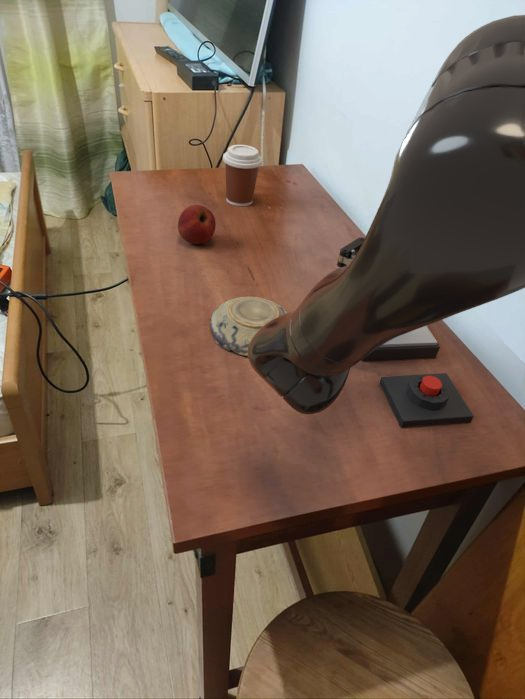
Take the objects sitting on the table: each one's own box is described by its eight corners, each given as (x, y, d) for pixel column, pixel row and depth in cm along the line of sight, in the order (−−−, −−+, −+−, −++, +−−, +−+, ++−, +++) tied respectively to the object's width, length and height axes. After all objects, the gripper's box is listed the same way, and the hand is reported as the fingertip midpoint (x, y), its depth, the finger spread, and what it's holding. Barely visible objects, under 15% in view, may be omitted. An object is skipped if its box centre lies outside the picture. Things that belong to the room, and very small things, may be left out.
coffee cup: (225, 189, 126) (228, 140, 119) (261, 196, 126) (266, 147, 118) (216, 204, 119) (218, 153, 112) (253, 211, 119) (259, 160, 111)
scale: (405, 311, 94) (410, 297, 92) (435, 358, 85) (441, 344, 83) (339, 312, 91) (342, 299, 90) (362, 361, 82) (366, 347, 80)
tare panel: (443, 379, 81) (450, 365, 79) (470, 422, 74) (478, 408, 72) (378, 382, 78) (383, 368, 76) (400, 427, 72) (406, 413, 70)
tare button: (433, 382, 76) (437, 375, 75) (441, 396, 74) (445, 388, 73) (416, 383, 75) (419, 376, 74) (424, 397, 73) (427, 389, 72)
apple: (184, 253, 101) (184, 216, 96) (173, 234, 107) (172, 198, 101) (219, 248, 104) (221, 212, 99) (206, 230, 109) (207, 195, 104)
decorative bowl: (241, 292, 93) (188, 329, 83) (243, 274, 91) (188, 311, 81) (311, 326, 88) (263, 371, 78) (315, 309, 86) (266, 353, 75)
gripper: (426, 293, 59) (466, 242, 70) (317, 249, 64) (371, 208, 75) (407, 343, 63) (447, 287, 75) (308, 299, 69) (359, 253, 80)
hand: (409, 248), depth 75 cm, fingers closed on cup, 6 cm apart
